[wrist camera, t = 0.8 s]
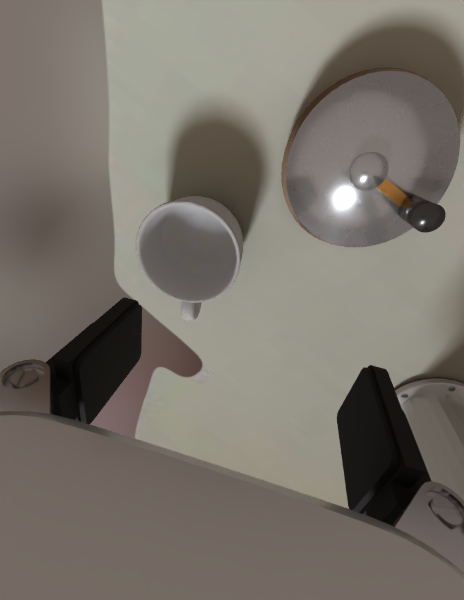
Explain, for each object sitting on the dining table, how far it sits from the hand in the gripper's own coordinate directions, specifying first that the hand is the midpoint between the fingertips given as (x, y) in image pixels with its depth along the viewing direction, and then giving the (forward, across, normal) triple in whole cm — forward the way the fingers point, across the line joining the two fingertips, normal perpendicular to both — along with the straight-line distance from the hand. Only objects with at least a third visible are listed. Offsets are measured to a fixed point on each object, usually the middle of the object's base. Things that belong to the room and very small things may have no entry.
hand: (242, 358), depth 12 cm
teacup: (+24, +8, +5) cm, 26 cm away
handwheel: (+22, -6, -7) cm, 24 cm away
